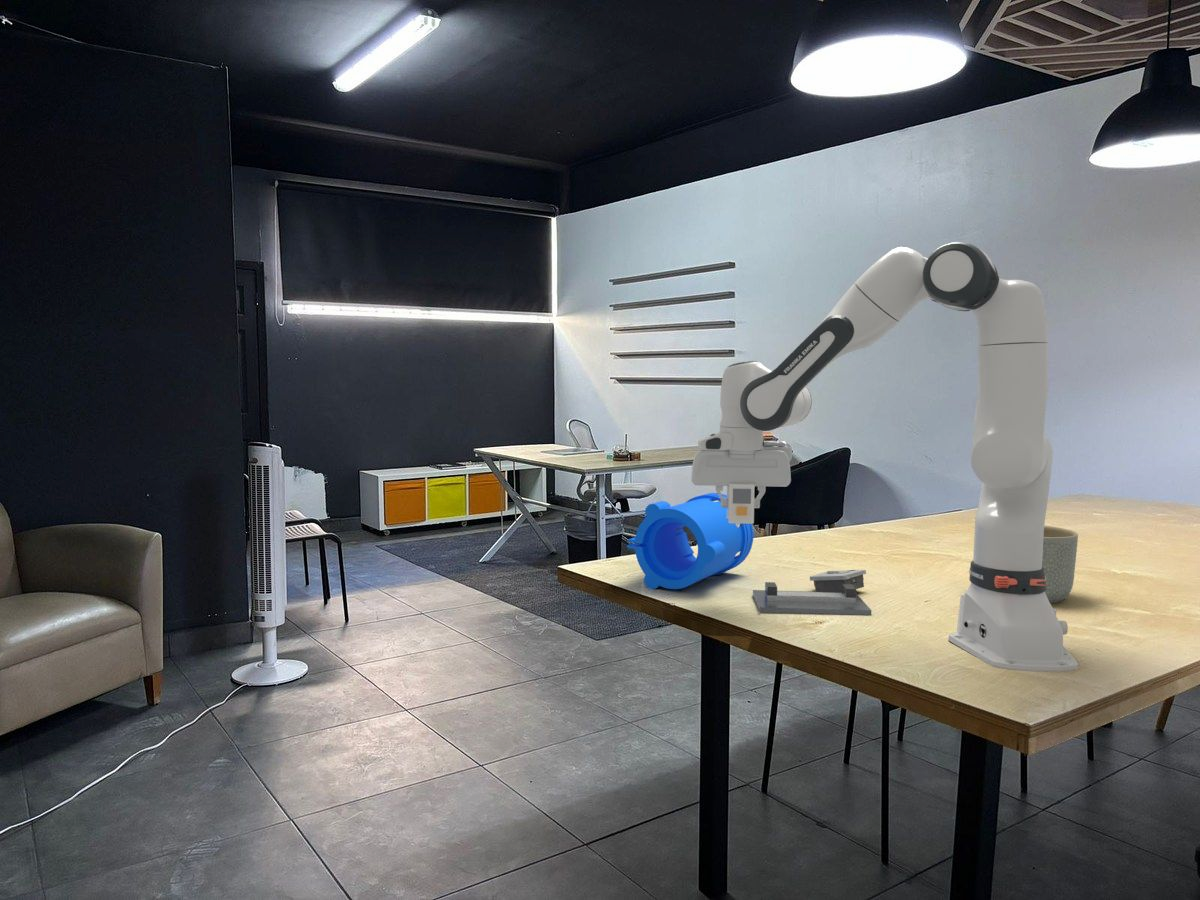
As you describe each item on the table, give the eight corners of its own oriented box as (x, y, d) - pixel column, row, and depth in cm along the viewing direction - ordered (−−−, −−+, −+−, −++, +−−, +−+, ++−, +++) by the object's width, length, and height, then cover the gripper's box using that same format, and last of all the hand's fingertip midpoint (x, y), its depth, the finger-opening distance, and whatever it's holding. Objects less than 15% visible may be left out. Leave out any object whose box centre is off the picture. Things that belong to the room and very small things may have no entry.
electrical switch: (868, 569, 190) (844, 567, 184) (869, 593, 189) (845, 591, 183) (831, 571, 197) (807, 569, 191) (832, 593, 196) (808, 592, 190)
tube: (675, 565, 218) (677, 489, 216) (757, 576, 206) (759, 496, 205) (626, 585, 197) (627, 501, 195) (714, 599, 185) (716, 510, 183)
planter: (1026, 612, 176) (1030, 539, 175) (970, 592, 192) (973, 524, 191) (1092, 607, 181) (1097, 535, 179) (1032, 588, 197) (1036, 522, 196)
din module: (754, 524, 173) (754, 485, 172) (729, 523, 174) (729, 484, 173) (750, 518, 181) (751, 480, 180) (726, 517, 181) (727, 480, 181)
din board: (871, 617, 171) (872, 595, 171) (759, 614, 173) (760, 592, 173) (855, 599, 185) (856, 579, 185) (752, 596, 187) (753, 576, 186)
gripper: (790, 440, 179) (788, 506, 180) (691, 439, 180) (690, 504, 181) (794, 442, 172) (793, 510, 173) (692, 441, 174) (691, 509, 175)
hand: (739, 507), depth 177 cm, fingers closed on din module, 5 cm apart
